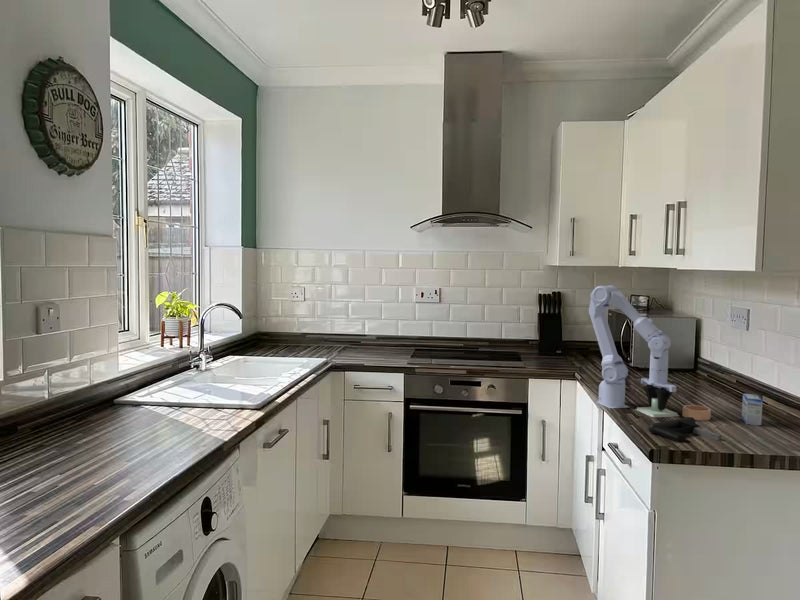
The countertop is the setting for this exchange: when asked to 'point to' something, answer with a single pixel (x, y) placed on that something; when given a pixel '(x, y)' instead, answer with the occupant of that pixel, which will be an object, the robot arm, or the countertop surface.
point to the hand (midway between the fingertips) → (657, 408)
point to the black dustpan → (680, 429)
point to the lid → (656, 410)
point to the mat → (652, 416)
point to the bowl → (697, 412)
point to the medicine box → (752, 409)
